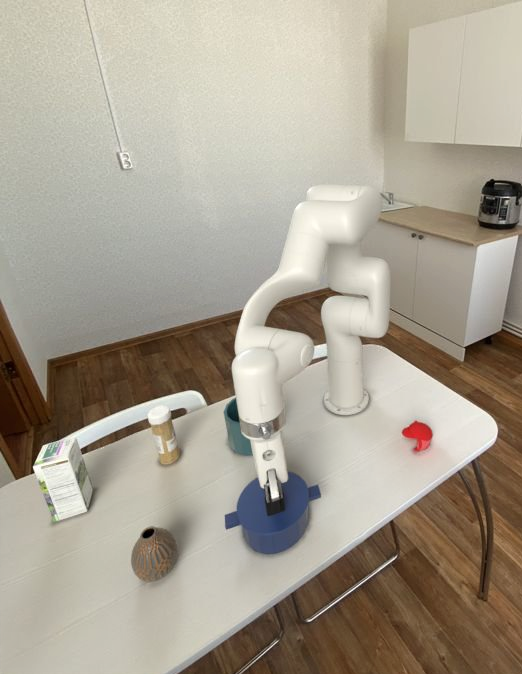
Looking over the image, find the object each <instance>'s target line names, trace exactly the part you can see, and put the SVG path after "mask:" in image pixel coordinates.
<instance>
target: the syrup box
mask: <svg viewBox="0 0 522 674" xmlns="http://www.w3.org/2000/svg"><path fill="white" fill-rule="evenodd" d="M32 468H33V472H34V474H35V477H36V480H37V482H38V485H39V488H40V490H41V492H42V495H43V497H44V501H45V503H46V505H47V508H48V511H49V513H50V515H51V517H52V521H53V522H54V523H55V522H60V521H62V520H63V521H64V520H65V519H68V518H72V517H75V516H78V515H82V514H84V513H87V512H89V509H90V504H91V500H92V497H93V492H94V486H93V484H92V481H91V477H90V475H89V472H88V469H87V466H86V463H85V460H84V456H83V454H82V450H81V447H80V444H79V441H78V438H77V437H72V438H65V439H61V440H57V441H53V442H49V443H46V444H44V445H42V446H41V449H40V451H39V453H38V455H37V458H36V460H35V462H34V464H33V466H32Z"/></svg>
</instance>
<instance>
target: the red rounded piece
mask: <svg viewBox="0 0 522 674" xmlns="http://www.w3.org/2000/svg"><path fill="white" fill-rule="evenodd" d="M401 435H402V436H403V437H405V438H407V439H413V440H417V447H414V448H413V451H414V452H417V453H418V452H421V451H425V450H427V449H428V448H429V447H430V443H431V441H432V439H433V437H434V433H433V430H432V428H431V426H429V425H428V424H426V423H424V422H422V421H418V420H414V421H413V422H412V423H410V424H409V425H408V426H406V427H404V428H403V429H402V430H401Z"/></svg>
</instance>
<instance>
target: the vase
mask: <svg viewBox="0 0 522 674" xmlns="http://www.w3.org/2000/svg"><path fill="white" fill-rule="evenodd" d="M130 555H131V556H130V565H131V569H132V571H133V573H134V575H135V576H136V577H137V579H139V580H140V581H142V582H146V583H152V582H153V583H154V582H157V581H159V580H161V579H163V578H165V576H167V575H168V574H169V572H170V571H171V570H172V568H173V567H174V565H175V563H176V561H177V556H178V543H177V540H176V537H175V535H174V534H173V533H172V532H171V531H170V530H169V529H167V528H165V527H156V526H153V525H152V526H151V525H150V526H147V527H145V529H143V530H142V531H141V532H140V536H139V537H138V539H137V540H136V542H134V545H133V547H132V550H131V554H130Z"/></svg>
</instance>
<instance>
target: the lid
mask: <svg viewBox="0 0 522 674" xmlns="http://www.w3.org/2000/svg"><path fill="white" fill-rule="evenodd" d="M287 473H288V480H287V482H284V483H281V488H282V492H283V494H284V503H285V511H283V512H280V513H278V514H274V515H271V516H267V511H266V504H265V497H266V494H265V487H264V489H263V488H261V486H260V483H259V479H258V476H257V477H256V478H254V479H252V480H251V481H250V482H249V483H248V484H247V485H246V486H245V487H244V488H243V490H242V491H241V493H240V494H239V497H238V499H237V503H236V511H237V517H238V520H239V522H240V524H241V525H240V526H241V528H242V527H243V528H244V529H245V530H247V531H248V532H250V533H252V534H255V535H259V536H271V535H276V534H279V533H282V532H284V531H286V530H288V529H290V528H291V527H292V526H294V525H295V524H296V523H297V522H298V521H299V520H300V519H301V518H302V516H303V515H304V513H305V511H306V509H307V507H308V508H309V504H310V502H309V490H308V488H309V486H308V484H307V482H306V481H305V480H304V478H302V477H301V476H300V475H298V474H297V473H295V472H292V471H289V470H287ZM276 478H277V476H276ZM267 481H269V479H268V478H267ZM277 486H278V485H277ZM268 492H269V494H270V493H271V492H270V486H269V487H268Z"/></svg>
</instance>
